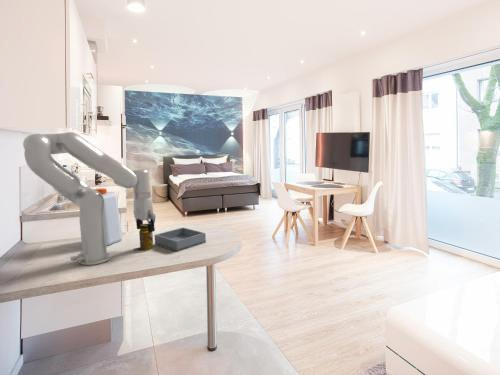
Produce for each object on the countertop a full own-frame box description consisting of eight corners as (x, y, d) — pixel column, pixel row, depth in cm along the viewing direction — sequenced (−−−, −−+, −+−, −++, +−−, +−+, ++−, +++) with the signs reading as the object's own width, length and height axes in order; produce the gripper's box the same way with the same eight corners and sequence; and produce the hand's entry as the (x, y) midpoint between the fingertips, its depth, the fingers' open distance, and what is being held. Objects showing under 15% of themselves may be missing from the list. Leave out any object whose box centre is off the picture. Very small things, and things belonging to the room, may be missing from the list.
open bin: (177, 251, 149) (176, 241, 148) (155, 244, 160) (154, 234, 159) (205, 242, 162) (205, 232, 162) (183, 236, 174) (182, 227, 173)
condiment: (156, 248, 154) (155, 224, 152) (139, 252, 148) (138, 228, 146) (149, 245, 159) (148, 222, 157) (133, 249, 153) (131, 225, 151)
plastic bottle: (81, 245, 160) (76, 190, 157) (103, 236, 175) (99, 186, 171) (104, 247, 156) (100, 191, 152) (125, 239, 170) (122, 187, 166)
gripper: (125, 195, 153) (129, 229, 155) (145, 198, 142) (149, 235, 144) (139, 192, 158) (142, 225, 161) (159, 195, 147) (162, 231, 150)
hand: (145, 230), depth 153 cm, fingers open, 9 cm apart
